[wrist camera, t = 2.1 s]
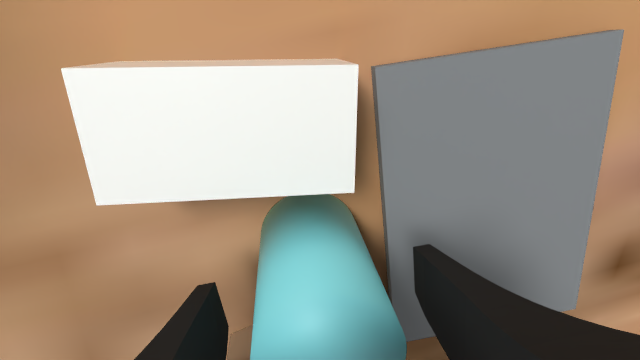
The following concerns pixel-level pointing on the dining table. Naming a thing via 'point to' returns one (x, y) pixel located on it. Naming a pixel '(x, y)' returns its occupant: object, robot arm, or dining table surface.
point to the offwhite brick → (215, 128)
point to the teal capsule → (320, 288)
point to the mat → (494, 164)
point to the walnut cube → (240, 344)
